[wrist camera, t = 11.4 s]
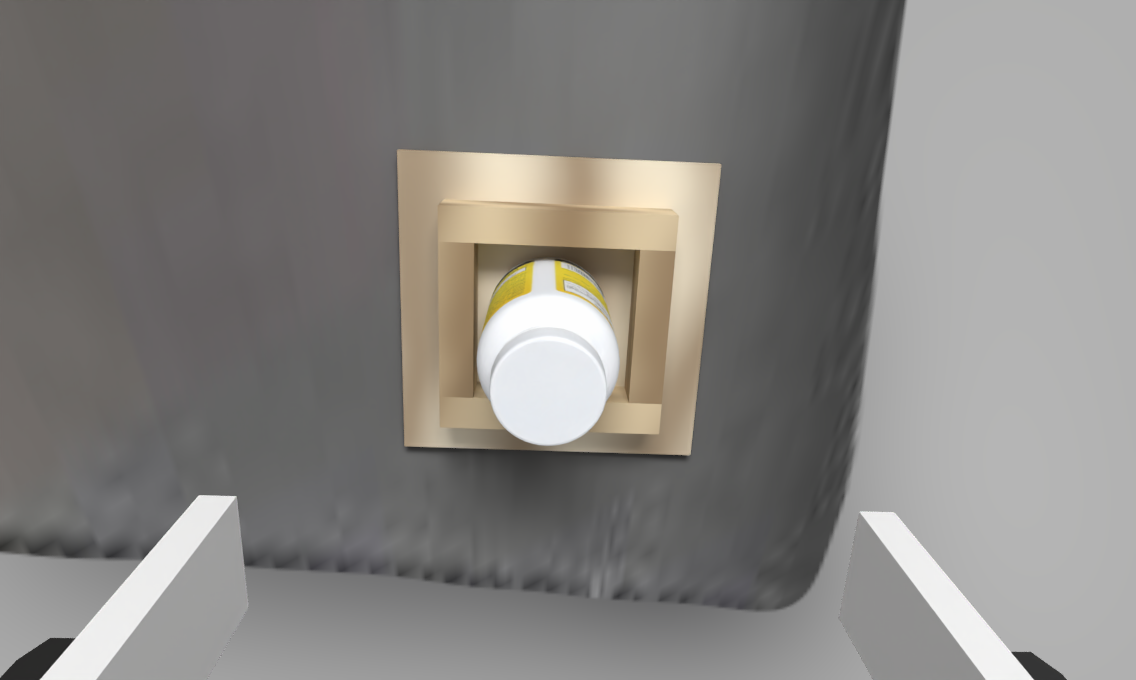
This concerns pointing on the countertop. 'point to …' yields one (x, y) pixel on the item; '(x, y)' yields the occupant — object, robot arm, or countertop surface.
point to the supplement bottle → (548, 351)
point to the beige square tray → (564, 230)
